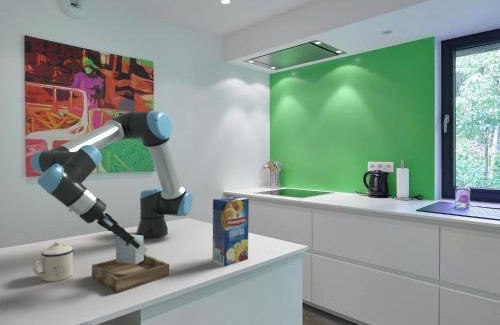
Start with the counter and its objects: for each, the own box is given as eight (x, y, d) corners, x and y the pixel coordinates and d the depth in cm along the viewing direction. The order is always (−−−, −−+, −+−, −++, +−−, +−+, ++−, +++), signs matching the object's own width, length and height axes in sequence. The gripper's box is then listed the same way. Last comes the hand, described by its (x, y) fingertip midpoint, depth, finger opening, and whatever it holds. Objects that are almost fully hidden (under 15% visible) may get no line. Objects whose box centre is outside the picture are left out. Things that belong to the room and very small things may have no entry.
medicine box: (144, 261, 106) (144, 235, 106) (135, 265, 102) (135, 238, 102) (124, 258, 109) (125, 233, 108) (115, 262, 104) (115, 236, 104)
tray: (91, 276, 105) (91, 264, 105) (141, 263, 118) (141, 252, 118) (116, 293, 93) (116, 279, 93) (169, 276, 106) (169, 264, 106)
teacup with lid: (63, 269, 111) (63, 236, 111) (79, 274, 107) (79, 240, 106) (25, 281, 101) (25, 245, 100) (41, 288, 96) (40, 250, 96)
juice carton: (224, 266, 116) (225, 201, 115) (212, 261, 121) (212, 199, 120) (248, 259, 124) (248, 198, 123) (235, 254, 130) (236, 196, 129)
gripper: (71, 210, 104) (122, 250, 114) (85, 222, 87) (143, 267, 97) (89, 193, 107) (136, 233, 117) (106, 201, 90) (159, 247, 100)
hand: (139, 248), depth 107 cm, fingers closed on medicine box, 9 cm apart
